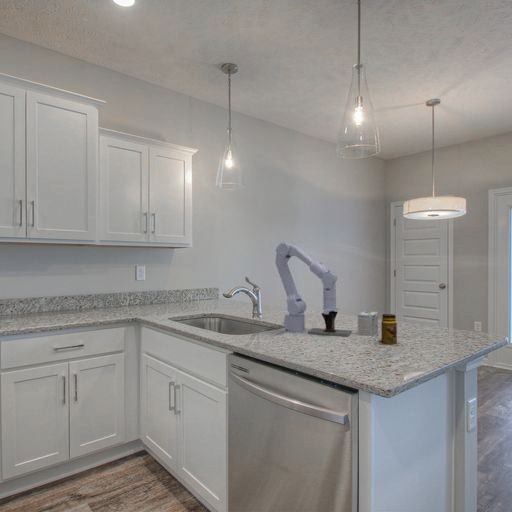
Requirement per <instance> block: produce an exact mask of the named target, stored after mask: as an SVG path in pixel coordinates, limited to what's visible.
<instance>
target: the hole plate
mask: <svg viewBox="0 0 512 512" xmlns="http://www.w3.org/2000/svg"><path fill="white" fill-rule="evenodd" d="M352 333H353V330H349V329H348V330H346V329H336V328H335V331H326V328H319V327H313V328H312V329H310V330H308V331H307V335H314V336H316V335H317V336H326V337H343V338H349V337H350V336H351V334H352Z"/></svg>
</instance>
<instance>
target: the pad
mask: <svg viewBox="0 0 512 512" xmlns="http://www.w3.org/2000/svg"><path fill="white" fill-rule="evenodd" d="M337 338H338V337H335V336H321V335H317V336H316V335H314V336H312V338H310V340H315V341H328V342H329V341H330V342H335V341H336V340H337Z"/></svg>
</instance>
